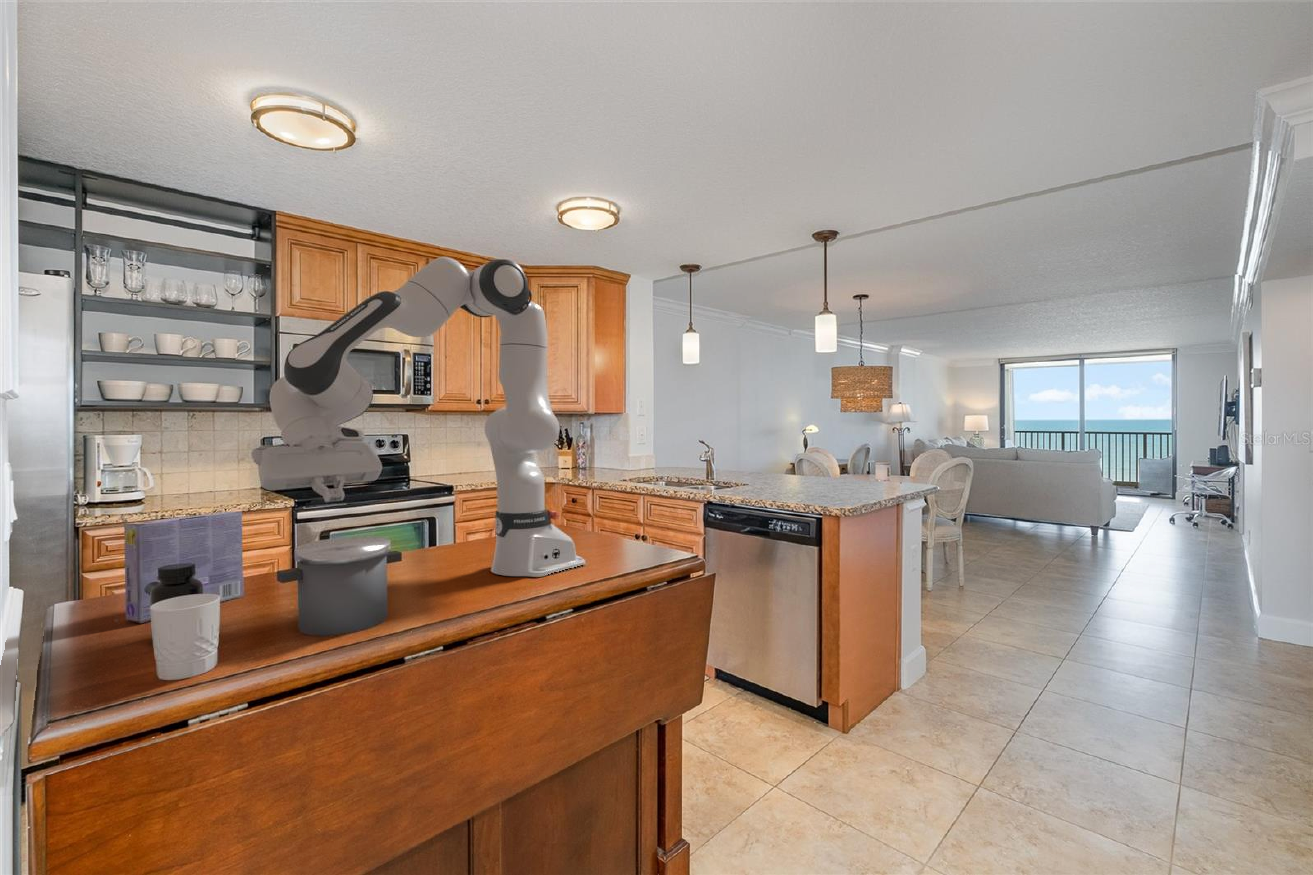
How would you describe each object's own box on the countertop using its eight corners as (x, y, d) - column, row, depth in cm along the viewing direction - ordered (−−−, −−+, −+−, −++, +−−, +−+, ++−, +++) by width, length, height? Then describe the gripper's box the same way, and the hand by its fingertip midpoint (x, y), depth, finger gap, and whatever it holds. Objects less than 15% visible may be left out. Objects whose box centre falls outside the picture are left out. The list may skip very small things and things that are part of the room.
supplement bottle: (207, 638, 98) (205, 566, 97) (153, 649, 93) (150, 573, 93) (201, 627, 103) (199, 559, 102) (149, 638, 98) (147, 566, 97)
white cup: (167, 687, 80) (165, 614, 80) (141, 675, 84) (139, 605, 83) (232, 666, 87) (231, 598, 86) (205, 655, 91) (203, 590, 90)
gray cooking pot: (383, 600, 118) (381, 540, 117) (417, 615, 109) (416, 550, 108) (267, 627, 103) (265, 558, 102) (295, 647, 94) (294, 572, 93)
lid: (369, 541, 116) (368, 533, 115) (405, 552, 106) (405, 543, 106) (281, 554, 104) (281, 545, 104) (314, 569, 94) (313, 559, 94)
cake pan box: (235, 592, 124) (232, 508, 123) (250, 595, 122) (248, 509, 121) (123, 621, 106) (120, 523, 105) (139, 625, 104) (136, 525, 103)
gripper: (252, 434, 104) (273, 494, 98) (370, 430, 119) (395, 482, 113) (245, 458, 107) (265, 518, 101) (361, 452, 122) (385, 503, 117)
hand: (335, 499), depth 107 cm, fingers closed
